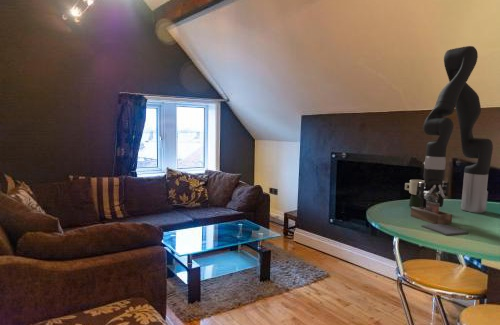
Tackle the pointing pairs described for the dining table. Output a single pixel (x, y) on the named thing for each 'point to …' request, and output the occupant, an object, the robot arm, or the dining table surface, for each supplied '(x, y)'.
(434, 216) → the holder
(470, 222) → the dining table surface
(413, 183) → the character mug
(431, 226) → the mat
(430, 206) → the lighter
